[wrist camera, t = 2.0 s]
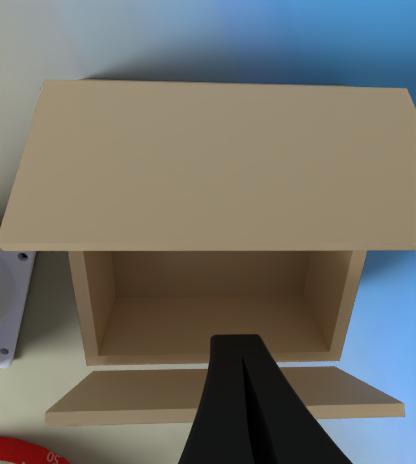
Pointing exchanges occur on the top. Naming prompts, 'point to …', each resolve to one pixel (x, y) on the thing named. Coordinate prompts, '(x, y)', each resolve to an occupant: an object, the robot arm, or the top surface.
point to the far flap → (190, 391)
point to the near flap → (215, 169)
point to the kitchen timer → (26, 453)
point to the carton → (213, 300)
